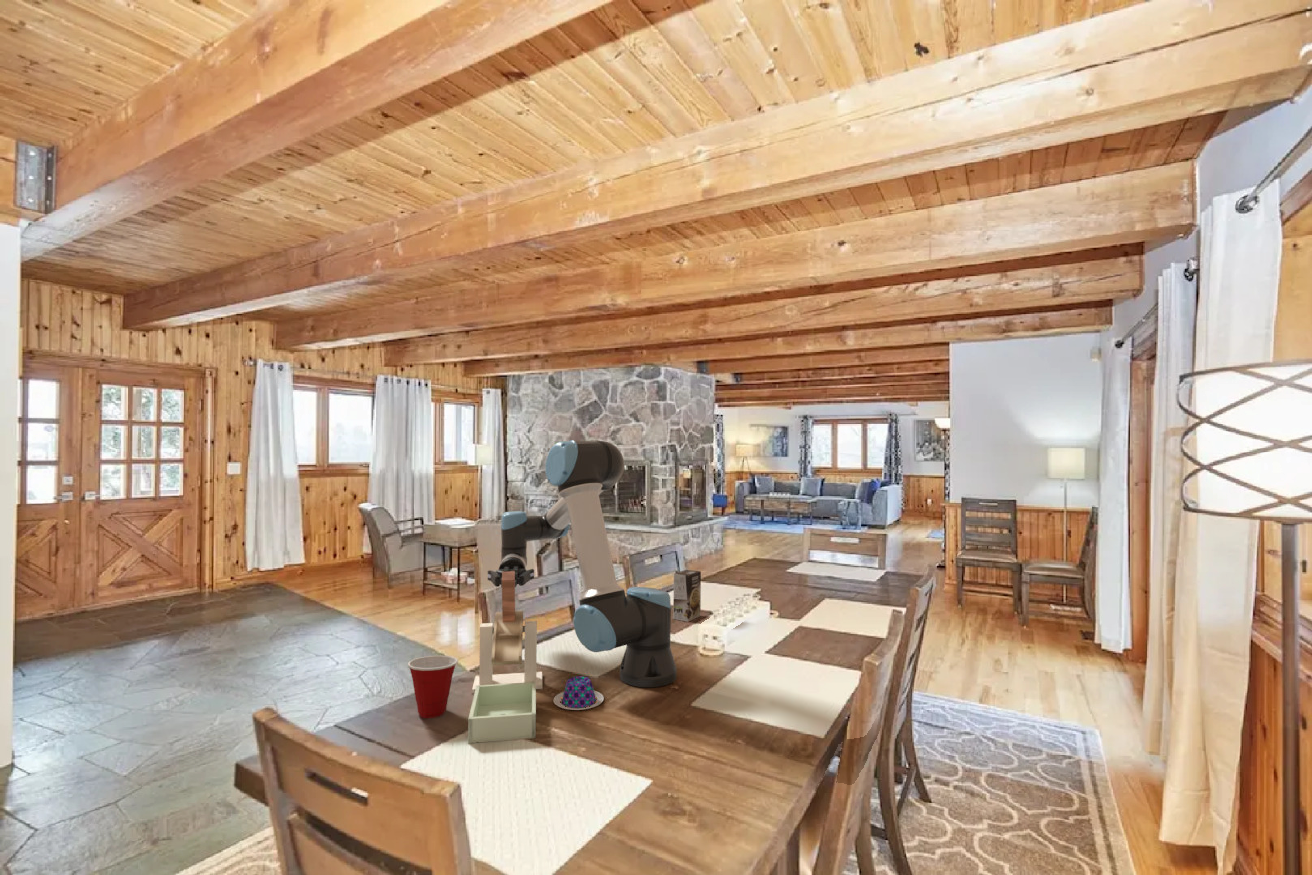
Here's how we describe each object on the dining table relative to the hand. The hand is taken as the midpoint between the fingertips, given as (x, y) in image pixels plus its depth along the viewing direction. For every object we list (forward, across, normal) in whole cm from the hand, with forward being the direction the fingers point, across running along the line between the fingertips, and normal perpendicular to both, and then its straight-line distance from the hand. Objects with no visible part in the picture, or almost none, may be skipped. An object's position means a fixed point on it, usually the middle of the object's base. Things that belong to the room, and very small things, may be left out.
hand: (507, 587), depth 157 cm
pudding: (+11, -17, -26) cm, 33 cm away
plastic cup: (+12, +16, -25) cm, 32 cm away
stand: (-1, 0, -25) cm, 25 cm away
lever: (+3, 0, -12) cm, 12 cm away
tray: (+20, 0, -25) cm, 32 cm away
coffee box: (-53, -59, -25) cm, 83 cm away
